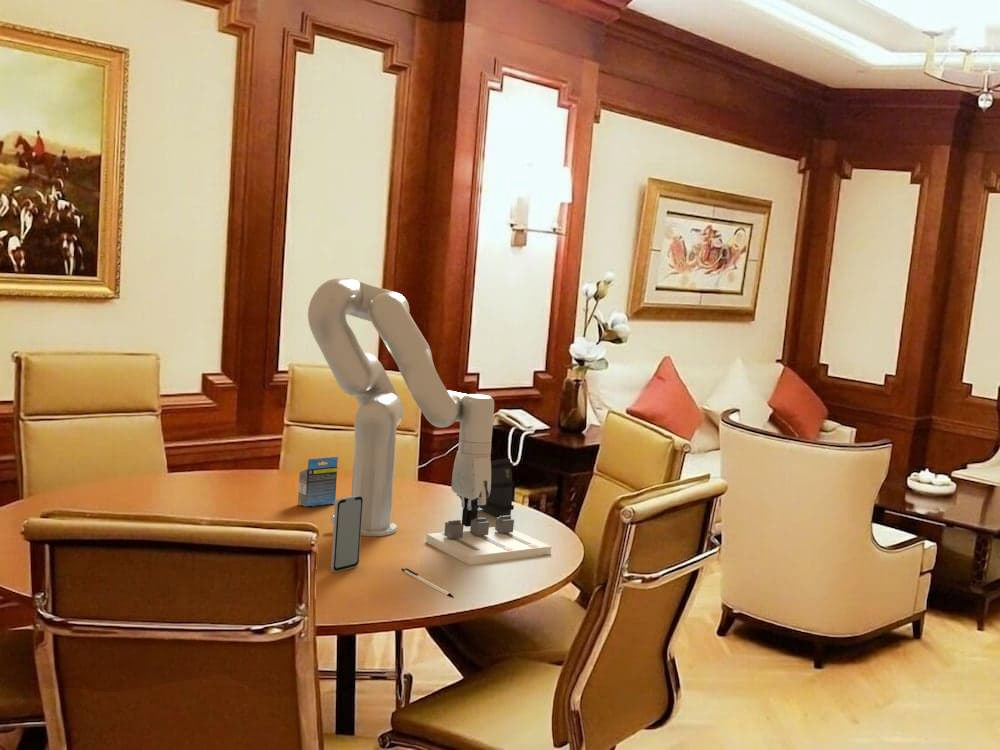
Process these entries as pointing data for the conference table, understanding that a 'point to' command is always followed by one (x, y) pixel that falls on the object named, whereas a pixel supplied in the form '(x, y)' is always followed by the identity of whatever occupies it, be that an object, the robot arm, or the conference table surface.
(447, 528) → the tab left
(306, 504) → the label tape cartridge
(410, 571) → the pen
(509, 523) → the tab right
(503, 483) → the black upright block
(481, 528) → the tab middle
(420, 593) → the conference table surface
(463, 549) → the switch panel
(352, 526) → the smartphone
